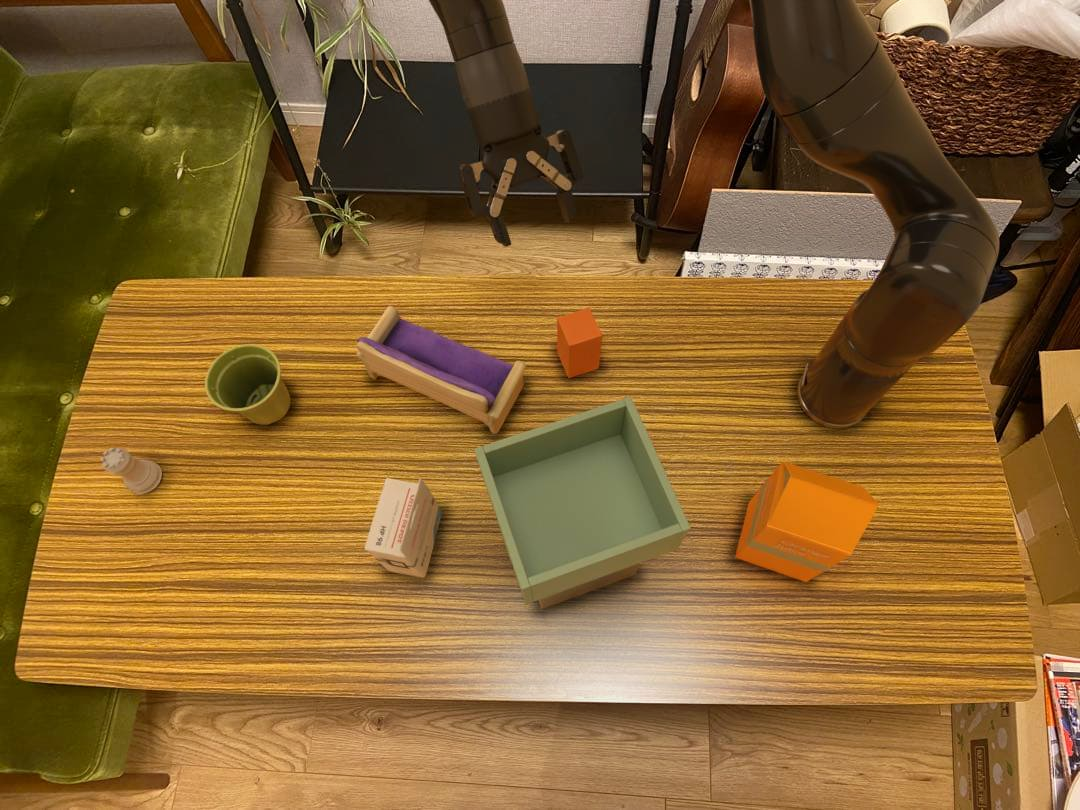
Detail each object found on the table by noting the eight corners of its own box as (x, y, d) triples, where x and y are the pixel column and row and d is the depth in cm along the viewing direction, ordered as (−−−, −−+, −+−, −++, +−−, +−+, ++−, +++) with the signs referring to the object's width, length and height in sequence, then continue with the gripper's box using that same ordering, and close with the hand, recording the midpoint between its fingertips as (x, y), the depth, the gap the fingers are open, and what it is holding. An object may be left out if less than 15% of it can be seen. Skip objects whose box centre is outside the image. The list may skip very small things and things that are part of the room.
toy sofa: (529, 385, 96) (526, 348, 87) (500, 438, 93) (494, 406, 84) (398, 329, 100) (382, 288, 91) (366, 378, 97) (346, 340, 88)
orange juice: (806, 583, 84) (874, 542, 66) (733, 558, 86) (780, 511, 68) (819, 523, 87) (887, 468, 69) (748, 500, 89) (797, 440, 71)
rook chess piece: (122, 479, 92) (85, 458, 85) (151, 456, 93) (116, 432, 86) (141, 502, 91) (105, 482, 83) (170, 477, 92) (137, 455, 85)
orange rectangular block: (587, 342, 99) (589, 307, 91) (598, 368, 97) (602, 335, 89) (557, 351, 98) (556, 317, 90) (568, 378, 97) (569, 346, 88)
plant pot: (283, 445, 93) (257, 419, 85) (221, 425, 95) (190, 398, 87) (314, 385, 97) (293, 355, 89) (254, 367, 98) (228, 335, 91)
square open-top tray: (624, 428, 74) (630, 395, 67) (677, 549, 68) (691, 528, 61) (482, 476, 72) (473, 448, 65) (525, 604, 66) (521, 589, 59)
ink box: (406, 505, 89) (379, 465, 76) (443, 512, 89) (423, 473, 76) (386, 571, 86) (355, 542, 73) (425, 579, 85) (400, 551, 72)
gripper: (445, 113, 75) (493, 257, 82) (565, 73, 78) (602, 216, 84) (432, 116, 82) (478, 250, 89) (543, 79, 84) (579, 211, 91)
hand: (538, 233), depth 86 cm, fingers open, 8 cm apart
